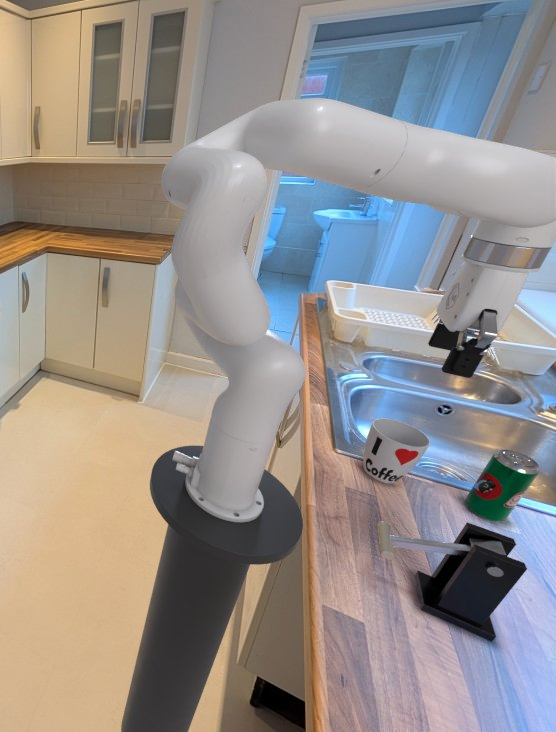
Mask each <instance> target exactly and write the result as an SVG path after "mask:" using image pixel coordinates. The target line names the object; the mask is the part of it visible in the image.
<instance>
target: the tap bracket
mask: <svg viewBox="0 0 556 732" xmlns="http://www.w3.org/2000/svg"><path fill="white" fill-rule="evenodd" d="M469 538H473V539H481V540H490V541H498V542H501V543H502V546H503V548H504V551H505V553H506V556H504V555H502V554H499V553H496V552H494V551H491V550H488V549H486V548H483V547H480V546H478V545H475V544H474V546H473V547H472V548H471V550H470V551H469V553H468V554H467V556H466V557H465V556H458V555H451V554H445V555H444V557H443V558H442V559H441V561H440V562H439V564H438V565H437V567H436V569H435V570H434V572H433V573H432V574H431V575H430V574H428V573H426V572H422V571H420V570H417V571H416V573H415V574H414V580H415V585H416V590H417V591H416V592H417V597H418V602H419V607H420V610H421V611H423V612H425V613H427V614H429V615H431V616H433V617H436V618H438V619H440V620H442V621H444V622H447V623H449V624H451V625H453V626H455V627H457V628H460V629H462V630H465V631H466V632H469V633H471V634H474V635H475V636H478V637H480V638H482V639H484V640H486V641H488V642H491V643H492V642H493V641H494V640H495V639H496V638H497V635H496V631H495V629H494V625H493V621H492V619H491V616H492V614H493V613H494V612H495V610H496V609H497V608H498V606H499V605H500V604H501V603H502V601H503V600H504V599H505V598H506V597H507V596H508V594H509V593H510V591H511V590H512V589H513V588H514V586H515V585H516V584H517V583H518V581H520V579H521V578H522V577H523V575H524V574H525V573H526V571H527V570H528V568H527V566H526V563H525V562H523V561H521V560H517V559H515V558H512V557H510V556H509V555H510V554H511V552H512V551H513V549H514V548H515V547H516V545H517V542H516V540H515V539H514V538H512V537H510V536H507V535H505V534H501V533H498V532H496V531H493V530H491V529H487V528H483V527H481V526H479V525H476V524H473V523H470V522H466V523H465V524H464V525H463V528H462V529H461V530H460V532H459V534H458V535H457V536H456V538H455V539H454V541H453V543H455V544H463V545H471V544H470V539H469Z"/></svg>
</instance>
